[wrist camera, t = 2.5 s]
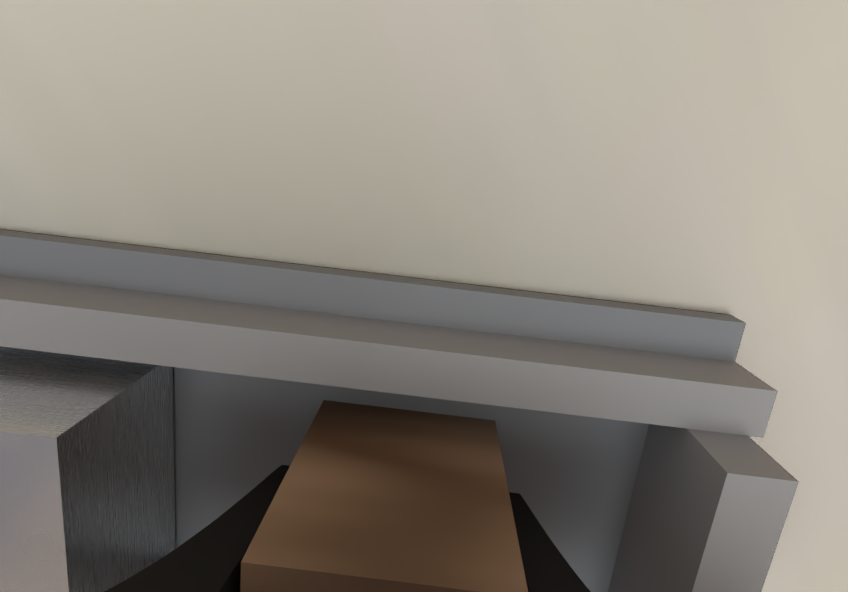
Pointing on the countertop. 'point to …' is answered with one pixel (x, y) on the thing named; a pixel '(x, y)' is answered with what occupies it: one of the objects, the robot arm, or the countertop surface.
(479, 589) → the stop block
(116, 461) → the light grey block
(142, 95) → the countertop surface
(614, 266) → the countertop surface
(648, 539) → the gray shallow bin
